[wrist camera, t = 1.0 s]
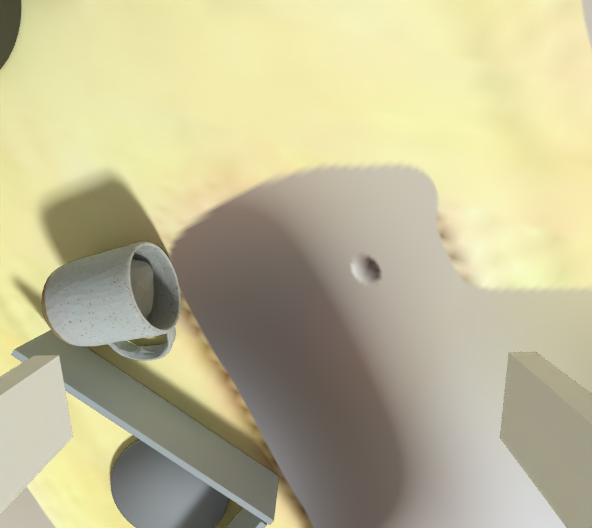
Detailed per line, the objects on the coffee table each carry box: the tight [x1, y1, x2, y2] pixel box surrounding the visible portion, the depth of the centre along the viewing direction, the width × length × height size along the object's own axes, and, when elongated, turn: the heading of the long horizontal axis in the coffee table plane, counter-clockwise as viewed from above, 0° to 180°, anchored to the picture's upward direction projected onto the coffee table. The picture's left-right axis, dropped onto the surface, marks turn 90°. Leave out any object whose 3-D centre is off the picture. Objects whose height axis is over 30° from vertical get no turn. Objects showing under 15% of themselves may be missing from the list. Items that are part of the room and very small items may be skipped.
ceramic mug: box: [42, 241, 181, 361], centre depth 30 cm, size 11×8×8 cm
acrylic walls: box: [11, 330, 279, 528], centre depth 35 cm, size 26×15×5 cm, turn 54°
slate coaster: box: [111, 439, 229, 528], centre depth 38 cm, size 12×12×1 cm
